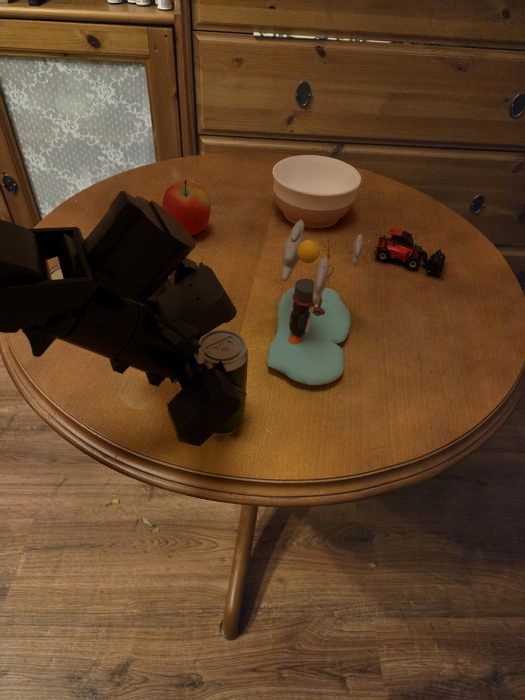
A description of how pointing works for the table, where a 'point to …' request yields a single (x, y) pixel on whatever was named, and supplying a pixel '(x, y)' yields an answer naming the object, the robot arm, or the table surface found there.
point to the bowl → (314, 189)
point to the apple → (188, 206)
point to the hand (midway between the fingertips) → (233, 378)
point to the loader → (408, 252)
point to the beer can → (227, 366)
